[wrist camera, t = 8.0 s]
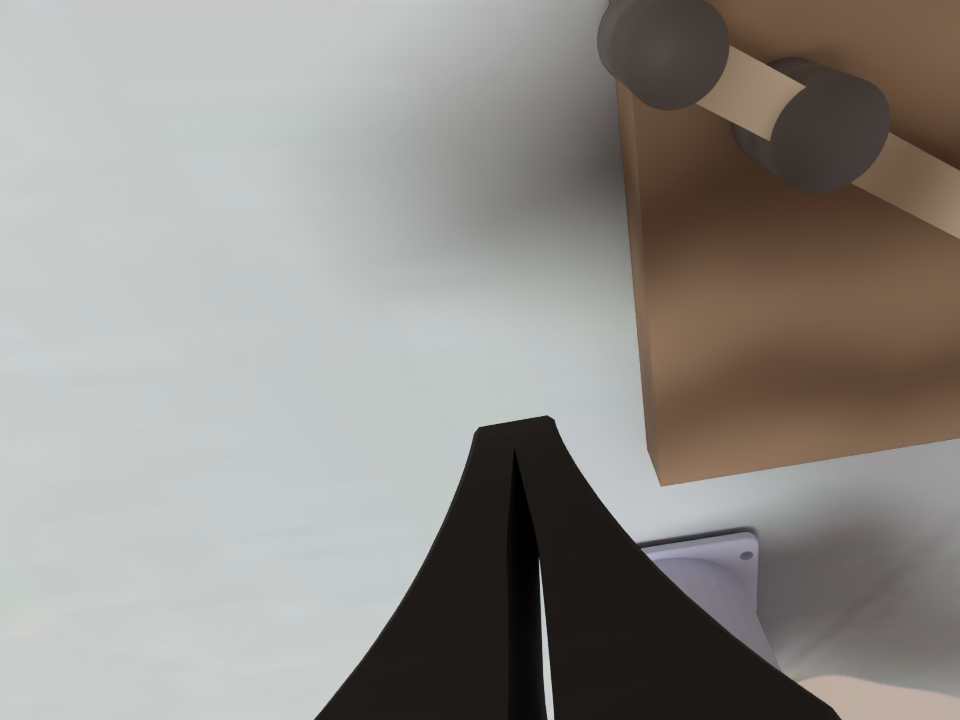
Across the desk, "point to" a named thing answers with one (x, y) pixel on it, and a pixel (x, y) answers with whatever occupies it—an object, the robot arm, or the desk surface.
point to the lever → (776, 107)
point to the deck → (795, 261)
